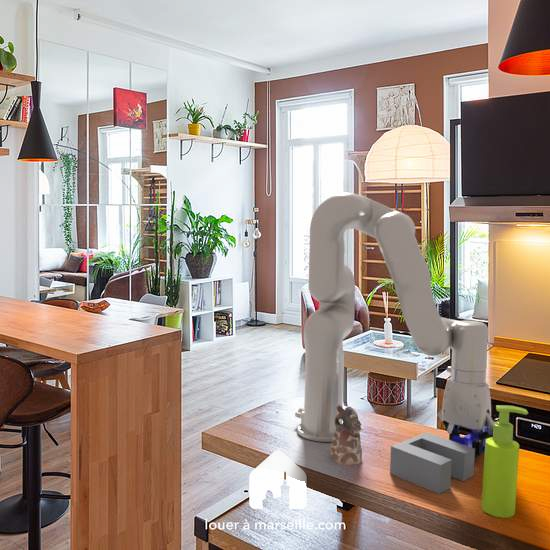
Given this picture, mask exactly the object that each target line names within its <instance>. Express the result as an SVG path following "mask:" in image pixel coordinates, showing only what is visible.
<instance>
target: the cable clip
mask: <svg viewBox="0 0 550 550" xmlns="http://www.w3.org/2000/svg"><path fill="white" fill-rule="evenodd" d="M487 430H488V426H484V431H487ZM487 438H488V437H487ZM487 438H486V439H487ZM486 439H484V440H483V453H482V455H483V454H485V441H486ZM452 441H454V442H457V443H460V444H463V445H466V446H469V447H472V442H473V441H475V439H474V434H473V430H472V429H471V432H470V434H466V435H465V436H463V437H462V436H460V437H459V436H456V435H454V436H453V437H452Z"/></svg>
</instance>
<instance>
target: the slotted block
mask: <svg viewBox="0 0 550 550" xmlns="http://www.w3.org/2000/svg"><path fill="white" fill-rule="evenodd" d="M474 457H475V448H472V447H469V446H466V445H463V444H460V443H457V442H454V441H451V440H449V438H445V437H441V436H439V435H436V434H432V433H430V432H428V431H426V432H423V433H420V434H418V435H416V436H415V435H414V436H413V437H410V438H409V439H408V438H407V439H406V440H402V441H400V442H398V443H396V444H393V445H391V446H390V462H389V463H390V464H389V465H390V466H389V474H390V475H393V476H395V477H398V478H399V479H402V480H405V481H407V482H409V483H412V484H414V485H416V486H419V487H421V488H424V489H426V490H428V491H431V492H433V493H435V494H438V495H441V494H442V493H444V492H446V491H447V490H450V489H451V483H452V479H451V478H454V479H457V480H459V481H462V482H465V481H466V480H468V479H470V478H472V477H474V470H475V459H474Z"/></svg>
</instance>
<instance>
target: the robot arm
mask: <svg viewBox="0 0 550 550" xmlns="http://www.w3.org/2000/svg"><path fill="white" fill-rule="evenodd" d="M310 221H311V222H310V226H309V256H308V257H309V258H308V260H309V261H308V291H309V293H310V295H311V297H312V298H313V299H314V300H315V301H317V302H318V306H319V307H318V309H316V310H315V311H313V312H311V314H310V315H309V316H308V317H307V319H306V321H305V324H304V327H303V341H304V350H305V351H304V352H305V353H304V355H305V356H304V357H305V363H304V365H305V367H304V373H305V374H304V377H305V378H304V379H305V380H304V404H303V405H304V407H299V409H298V411H296V412H295V413H294V415H295V418H299V419H300V423H299V424H298V425H297V434H298V435H299V436H300V437H302V438H304V439H306V440H310V441H313V442H321V443H329V442H330V443H332V440H333V436H334V433H335V430H336V426H335V418H336V416H337V415H338V414H339V412H338V410H337V406H339V405H340V406H341V407H342V408H343V406H344V405H343V400H344V377H345V376H344V375H345V372H344V371H345V370H344V367H345V361H344V360H345V358H344V356H345V355H344V345H343V344H344V339H346V338H347V337H348V336H349V334H351V332H352V331H353V329H354V325H355V309H356V308H355V302H356V300H355V298H356V297H355V296H356V295H355V292H356V282H355V277H354V274H353V271H352V270H351V268H350V267H349V266H347V265H346V264H345V252H346V251H345V240H344V235H345V232H346V231H347V230H349V229H350V230H353V229H354V230H356V231H359V232H361V233H362V234H364V235H367V236H369V237H372V238H374V239H375V241H376V243H377V245H378V248H379V251H380V252H381V254H382V257H383V259H384V262H385V265H386V268H387V269H388V272H389V275H390V277H391V280H392V281H393V284H394V288H395V293H396V296H397V299H398V302H399V303H398V304H399V305H400V309H401V312H402V315H403V319H404V321H405V324H406V326H407V329H408V331H409V334H410V336H411V338H412V340H413V342H414V345H415V346H416V348H417V349H418V350H419V351H420V352H421V353H422V354H424V355H426V356H429V357H436V356H441V355H442V354H444V353H445V352H446V351H447V349H451V365H450V366H447V368H446V372H448V373H450V377H449V378H447V381H446V384H445V389H444V392H443V397H442V408H441V409H440V410H439V412H438V413H437V414H436V416H437V417H438V418H439V419H440V421H441V422H442V424H443V426H444V427H445V428H446V431H447V433H448V440H451V441H452V437H453V436H454V435H456V436H459V437H461V433H460V431H459V428H460V427H463V428H466V429H469V430H471V431H472V430H473V434H474V439H475V441H473V442H472V448H475V457H474V460H476V459H477V458H480V457H481V456H482V455H483V454H484V453H483V440H484V439H486V438H489V437H491V436H493V428H494V422H495V421H494V420H493V418H492V399H491V392H490V386H489V383H487V366H488V348H489V347H488V344H489V328H488V326H487V324H486V323H484V322H482V321H477V320H456V319H451V318H448V317H447V318H446V317H443V316H441V315H440V313H439V310H438V307H437V305H436V303H435V302H436V301H435V299H434V295H433V290H432V278H431V273H430V269H429V266H428V264H427V261H426V259H425V256H424V255H423V253H422V250H421V248H420V244H419V243H418V239H417V238H416V236H415V235H416V225H415V222H414V221H413V219H412V218H411V217H410V216H409V215H408V214H405V213H403V212H402V211H399V210H396V209H394V208H391V207H390V206H389V207H388V206H386V205H384V204H383V203H380V202H378V201H375V200H373V199H372V198H369V197H367V196H365V195H361V194H357V193H352V192H342V193H338V194H335V195H332V196H330V197H328V198H327V199H326V200H323V202H321V203H320V204H319V205H318V207H317V208H316V210H315V211H314V213H313V215H312V218H311V220H310ZM339 423H340V424H343V420H342V419H339ZM484 426H486V427H487V431H484ZM482 453H483V454H482Z"/></svg>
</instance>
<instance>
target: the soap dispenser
mask: <svg viewBox="0 0 550 550" xmlns="http://www.w3.org/2000/svg"><path fill="white" fill-rule="evenodd" d="M495 406H496V407H495V409H496V412H498V413H499V414H498V420H496V421H493V422H494V428H493V434H492V436H489V437H487V439H486V441H485V453H484V457H483V458H484V459H483V461H484V462H483V474H482V491H481V492H482V494H481V505H480V506H481V509H482V511H483V512H484V513H486V514H487V513H488V514H487V515H489V514H490V515H489V516H493V517H496V518H500V517H501V518H500V519H509V518H513V517H514V516H515V514H516V500H517V484H518V471H519V459H520V458H519V457H520V456H519V455H520V444H519V442H518V441H515V440H514V439H513V434H514V425H513V424H512V423H511V422H509V421H510V413H517V414H521V415H524V416H527V415H528V414H529V412H528V410H527V409H526V408H523V407H519V406H515V405H504V404H502V405H500V404H498V405H497V404H496V405H495Z"/></svg>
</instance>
